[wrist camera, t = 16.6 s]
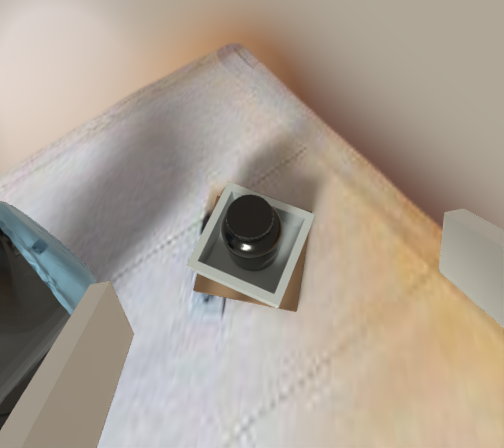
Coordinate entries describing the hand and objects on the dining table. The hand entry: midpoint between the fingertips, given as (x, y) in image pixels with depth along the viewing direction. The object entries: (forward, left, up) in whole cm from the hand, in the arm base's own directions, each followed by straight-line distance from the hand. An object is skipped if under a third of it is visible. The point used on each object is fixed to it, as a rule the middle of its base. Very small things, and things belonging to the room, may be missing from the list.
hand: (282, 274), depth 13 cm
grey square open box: (-5, +7, -30) cm, 31 cm away
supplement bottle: (-5, +7, -29) cm, 30 cm away
